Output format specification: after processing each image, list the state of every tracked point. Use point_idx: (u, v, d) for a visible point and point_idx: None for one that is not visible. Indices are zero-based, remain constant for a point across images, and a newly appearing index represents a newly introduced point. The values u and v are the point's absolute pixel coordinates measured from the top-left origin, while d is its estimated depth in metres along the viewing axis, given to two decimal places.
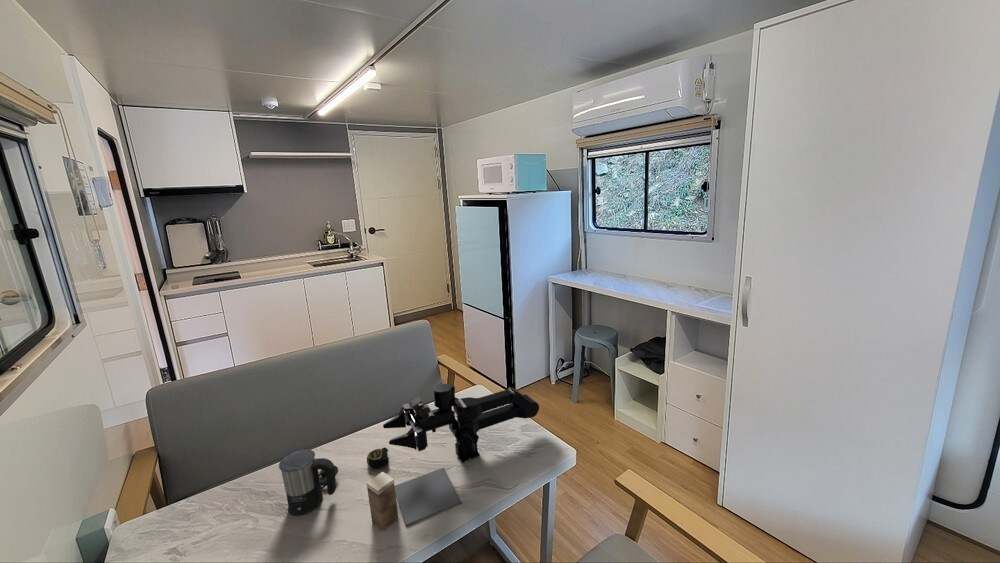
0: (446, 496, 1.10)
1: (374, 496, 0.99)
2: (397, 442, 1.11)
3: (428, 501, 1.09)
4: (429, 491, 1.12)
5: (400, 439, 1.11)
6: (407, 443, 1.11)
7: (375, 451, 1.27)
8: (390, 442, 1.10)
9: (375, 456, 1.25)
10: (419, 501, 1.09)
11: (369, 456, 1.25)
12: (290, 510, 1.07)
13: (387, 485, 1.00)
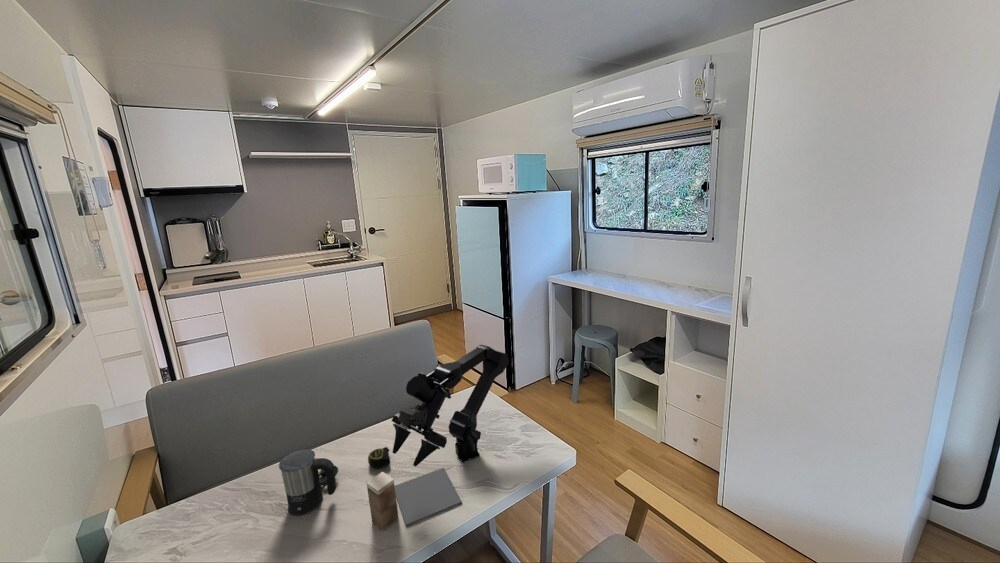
0: (446, 496, 1.10)
1: (374, 496, 0.99)
2: (420, 459, 1.05)
3: (428, 501, 1.09)
4: (429, 491, 1.12)
5: (421, 455, 1.04)
6: (429, 451, 1.06)
7: (376, 451, 1.27)
8: (415, 465, 1.04)
9: (376, 455, 1.25)
10: (419, 501, 1.09)
11: (370, 456, 1.25)
12: (290, 510, 1.07)
13: (387, 485, 1.00)
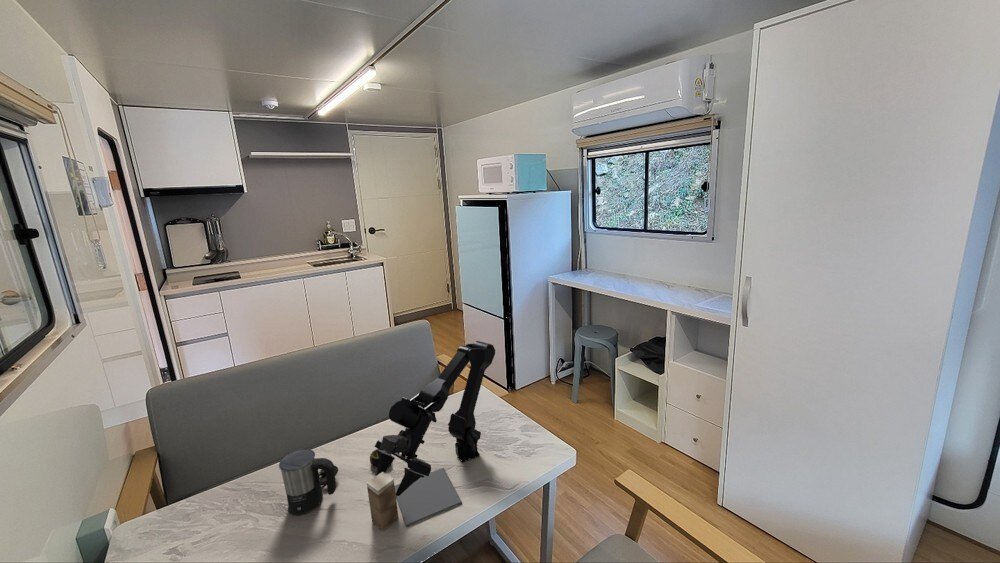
0: (446, 496, 1.10)
1: (374, 496, 0.99)
2: (404, 488, 1.01)
3: (428, 501, 1.09)
4: (429, 491, 1.12)
5: (404, 485, 1.00)
6: (412, 479, 1.02)
7: None
8: (398, 494, 1.00)
9: None
10: (419, 501, 1.09)
11: (372, 455, 1.25)
12: (290, 510, 1.07)
13: (387, 485, 1.00)
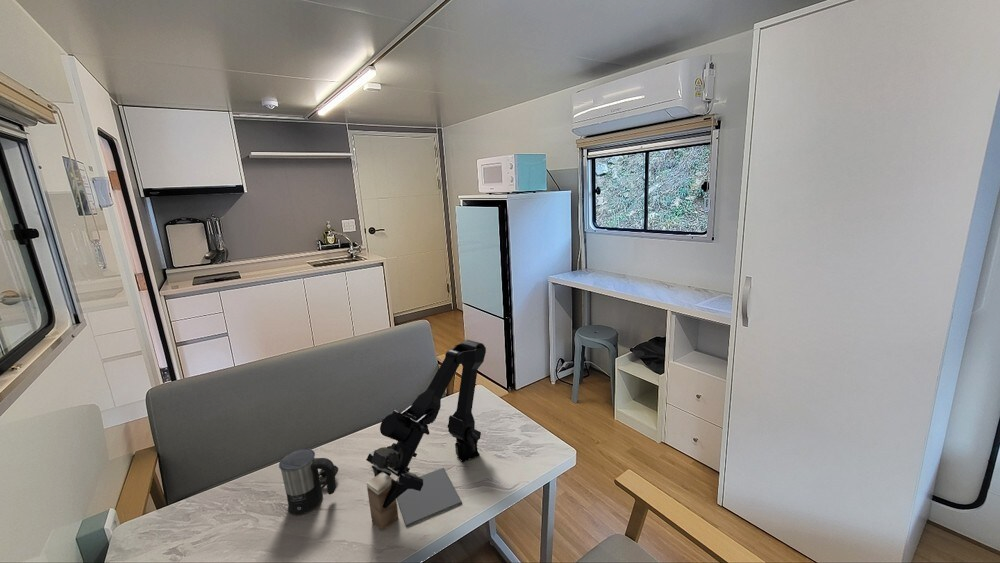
0: (446, 496, 1.10)
1: (374, 496, 0.99)
2: (391, 500, 1.00)
3: (428, 501, 1.09)
4: (429, 491, 1.12)
5: (391, 496, 1.00)
6: (400, 491, 1.01)
7: None
8: (385, 506, 0.99)
9: None
10: (419, 501, 1.09)
11: None
12: (290, 509, 1.07)
13: (387, 485, 1.00)
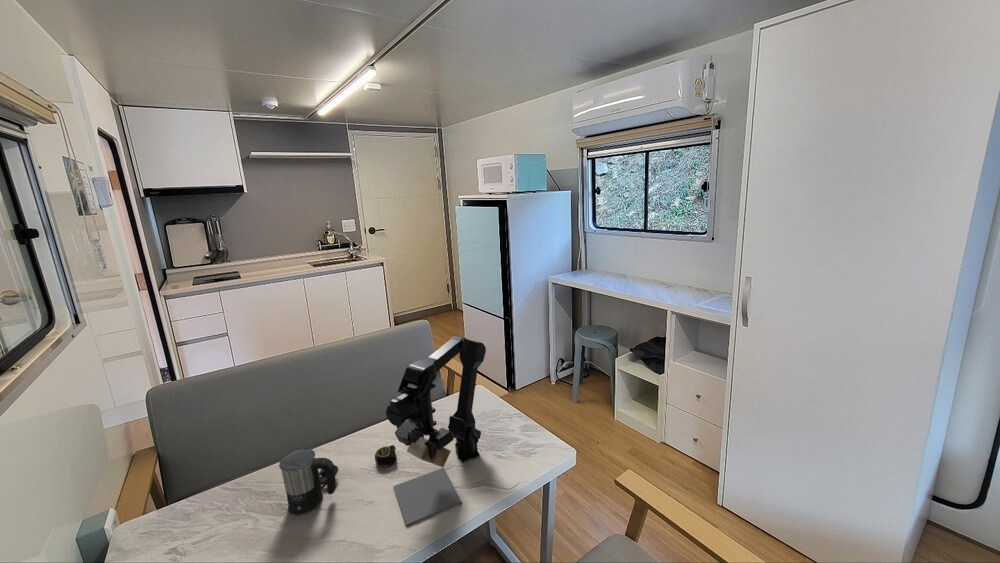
0: (446, 496, 1.10)
1: None
2: (434, 452, 1.09)
3: (428, 501, 1.09)
4: (429, 491, 1.12)
5: (432, 452, 1.08)
6: None
7: (383, 449, 1.28)
8: (432, 458, 1.09)
9: (383, 453, 1.26)
10: (419, 501, 1.09)
11: (377, 453, 1.26)
12: (290, 509, 1.07)
13: (424, 447, 1.07)
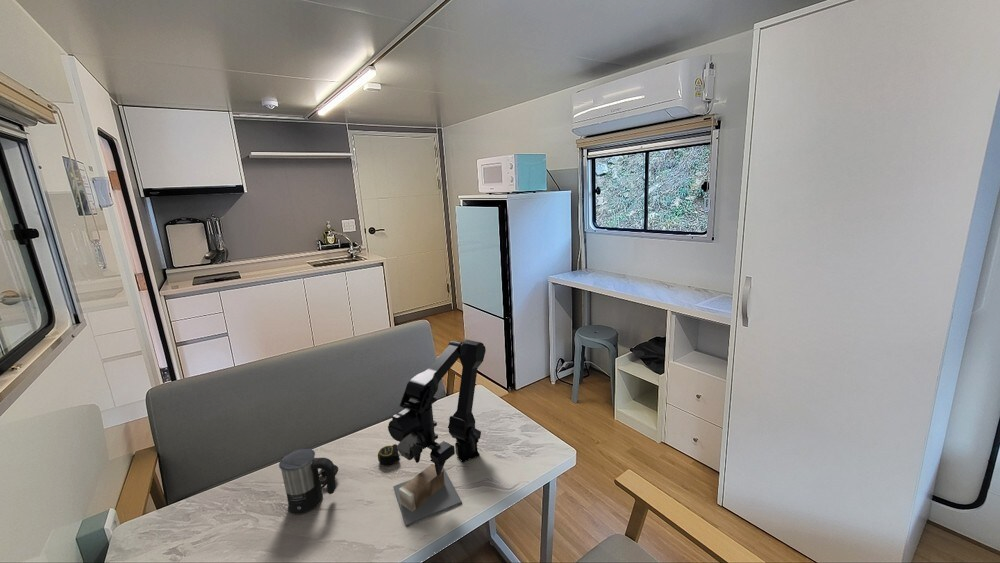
0: (446, 496, 1.10)
1: None
2: (440, 468, 1.09)
3: (428, 501, 1.09)
4: None
5: (439, 468, 1.08)
6: None
7: (386, 448, 1.29)
8: (439, 474, 1.09)
9: (386, 452, 1.26)
10: None
11: (380, 453, 1.26)
12: (290, 509, 1.08)
13: (412, 501, 1.05)
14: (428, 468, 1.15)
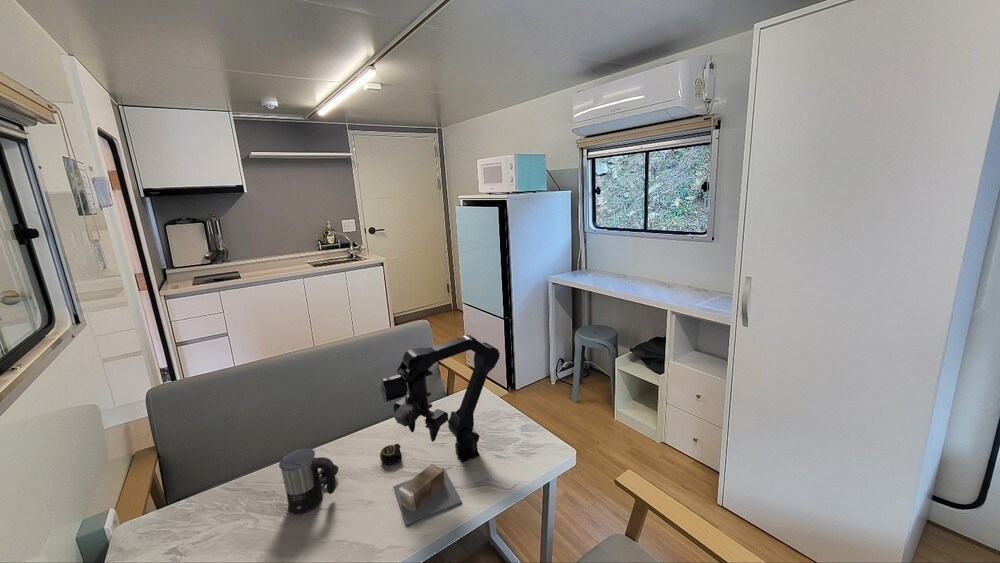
0: (446, 496, 1.10)
1: None
2: (435, 434, 1.15)
3: (428, 501, 1.09)
4: None
5: (433, 434, 1.14)
6: None
7: (388, 447, 1.29)
8: (433, 440, 1.16)
9: (388, 452, 1.26)
10: None
11: (382, 452, 1.26)
12: (290, 509, 1.08)
13: (412, 501, 1.05)
14: (428, 468, 1.15)
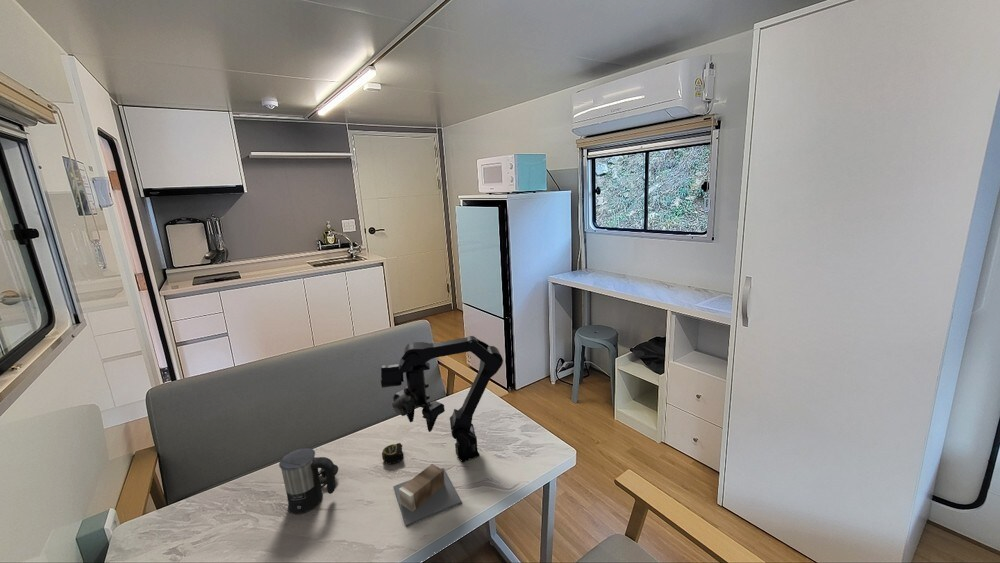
0: (446, 496, 1.10)
1: None
2: (432, 425, 1.20)
3: (428, 501, 1.09)
4: None
5: (430, 424, 1.19)
6: (434, 417, 1.20)
7: (390, 446, 1.29)
8: (430, 430, 1.20)
9: (390, 451, 1.27)
10: None
11: (384, 451, 1.27)
12: (290, 508, 1.08)
13: (412, 501, 1.05)
14: (428, 468, 1.15)
